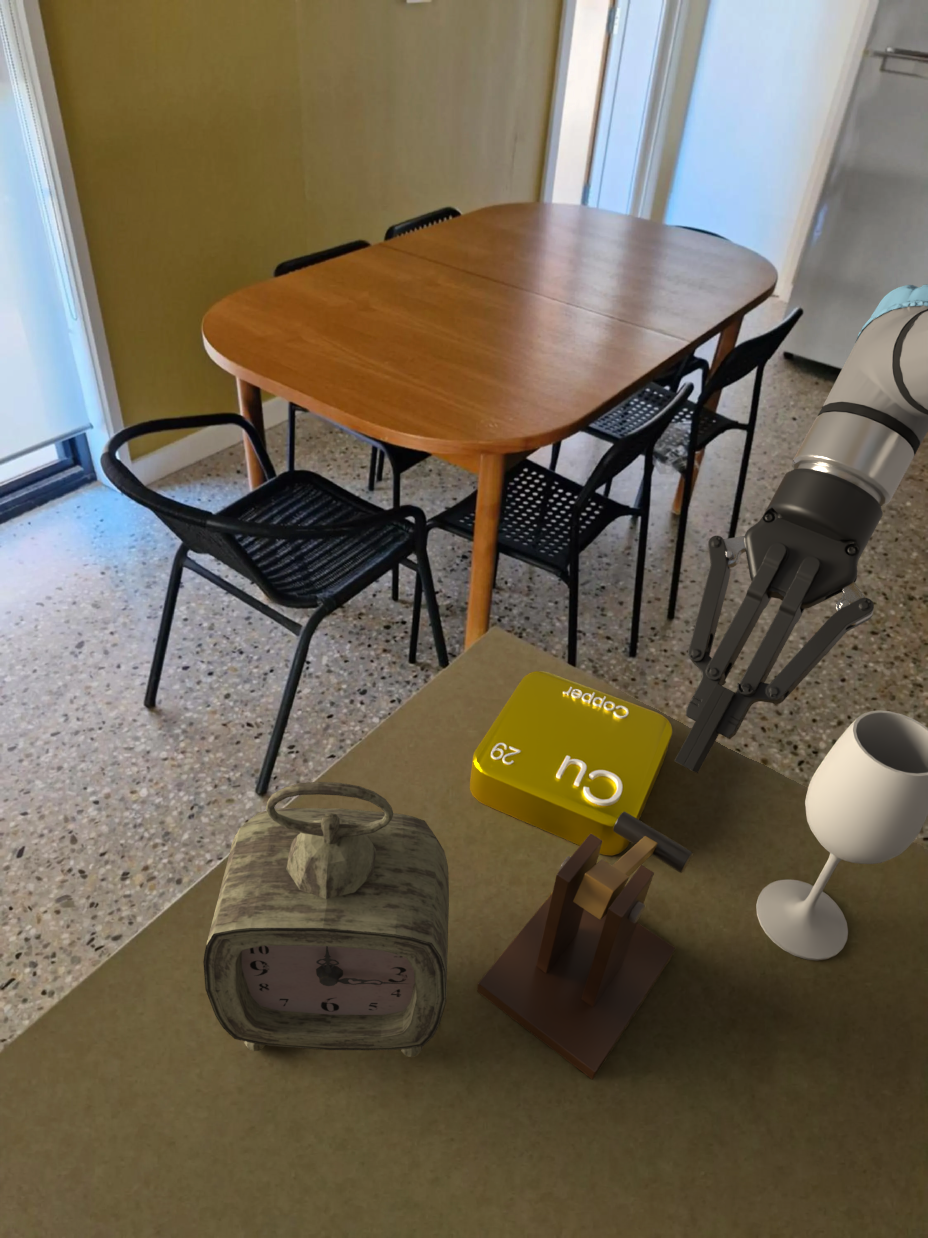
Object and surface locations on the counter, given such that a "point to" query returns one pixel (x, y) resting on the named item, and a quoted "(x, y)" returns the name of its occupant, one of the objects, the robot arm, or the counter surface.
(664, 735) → the element tile
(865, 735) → the wineglass
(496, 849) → the counter surface
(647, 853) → the lever
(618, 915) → the wooden lever stand
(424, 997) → the tabletop clock
